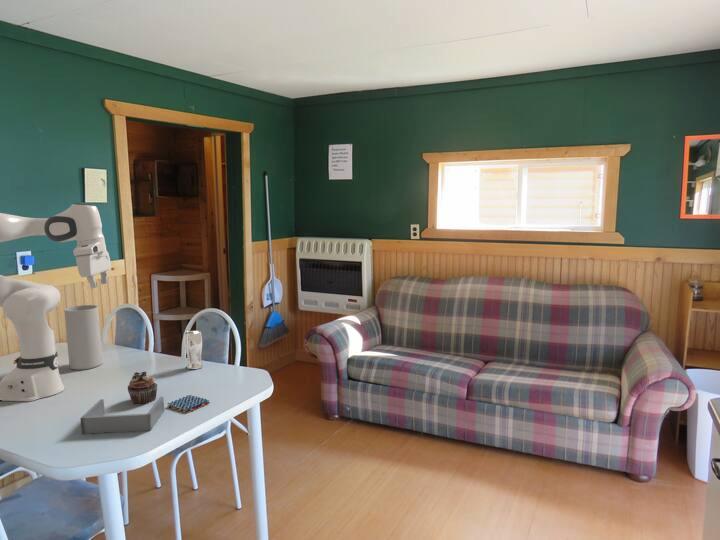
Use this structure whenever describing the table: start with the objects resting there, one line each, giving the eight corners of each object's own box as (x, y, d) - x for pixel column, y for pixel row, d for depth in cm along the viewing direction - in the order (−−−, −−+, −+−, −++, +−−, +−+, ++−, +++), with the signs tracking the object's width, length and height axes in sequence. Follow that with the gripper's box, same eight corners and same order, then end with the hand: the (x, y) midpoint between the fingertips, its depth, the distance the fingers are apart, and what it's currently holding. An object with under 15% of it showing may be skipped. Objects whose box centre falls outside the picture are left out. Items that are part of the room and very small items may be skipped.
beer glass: (198, 370, 217) (196, 334, 215) (182, 369, 218) (180, 334, 216) (206, 365, 224) (204, 330, 222) (191, 364, 225) (189, 330, 223)
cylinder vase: (108, 364, 228) (104, 306, 224) (80, 372, 217) (74, 312, 214) (91, 359, 235) (87, 304, 231) (63, 367, 224) (58, 309, 221)
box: (81, 434, 159) (80, 418, 158) (101, 414, 174) (100, 399, 173) (150, 430, 161) (149, 414, 160) (164, 411, 176) (163, 396, 175)
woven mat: (187, 415, 173) (186, 409, 173) (165, 409, 179) (165, 403, 178) (211, 404, 182) (211, 399, 182) (190, 399, 187) (190, 393, 187)
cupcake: (159, 402, 183) (157, 374, 182) (129, 407, 179) (127, 378, 178) (157, 393, 192) (155, 366, 191) (127, 398, 188) (125, 370, 186)
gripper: (95, 246, 200) (101, 282, 202) (70, 251, 180) (78, 291, 182) (112, 244, 200) (118, 280, 202) (89, 249, 180) (97, 289, 182)
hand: (99, 285), depth 192 cm, fingers open, 8 cm apart
